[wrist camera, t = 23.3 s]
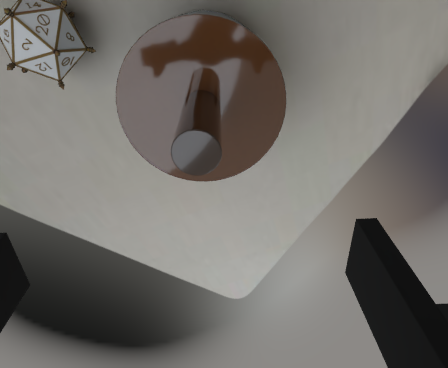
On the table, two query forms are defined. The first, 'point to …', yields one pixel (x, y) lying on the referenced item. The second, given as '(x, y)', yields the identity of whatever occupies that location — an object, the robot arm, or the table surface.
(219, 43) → the lid
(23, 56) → the game die
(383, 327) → the robot arm
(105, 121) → the table surface
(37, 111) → the table surface
